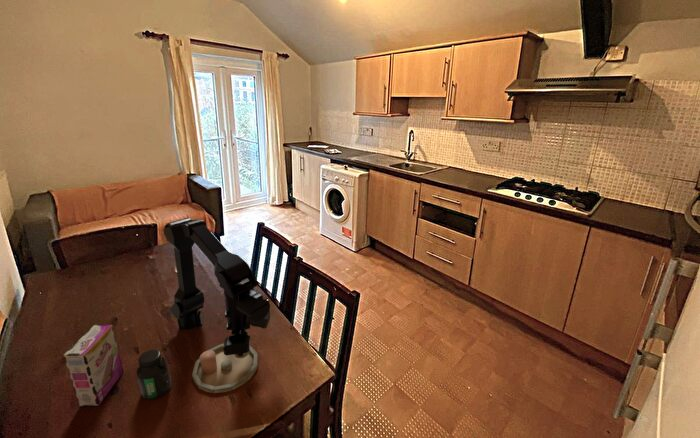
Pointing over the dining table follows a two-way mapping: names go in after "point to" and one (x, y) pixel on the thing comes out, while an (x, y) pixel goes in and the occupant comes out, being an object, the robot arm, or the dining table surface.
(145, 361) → the supplement bottle
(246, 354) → the maple bead
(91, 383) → the candy bar box
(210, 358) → the terracotta bead
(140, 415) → the dining table surface
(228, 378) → the ring dish
